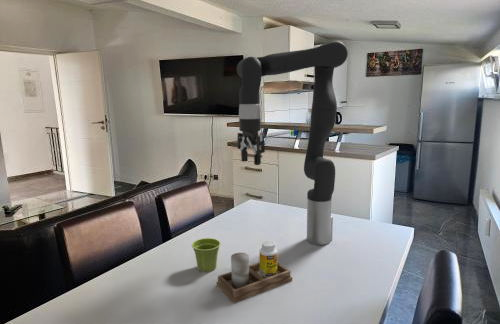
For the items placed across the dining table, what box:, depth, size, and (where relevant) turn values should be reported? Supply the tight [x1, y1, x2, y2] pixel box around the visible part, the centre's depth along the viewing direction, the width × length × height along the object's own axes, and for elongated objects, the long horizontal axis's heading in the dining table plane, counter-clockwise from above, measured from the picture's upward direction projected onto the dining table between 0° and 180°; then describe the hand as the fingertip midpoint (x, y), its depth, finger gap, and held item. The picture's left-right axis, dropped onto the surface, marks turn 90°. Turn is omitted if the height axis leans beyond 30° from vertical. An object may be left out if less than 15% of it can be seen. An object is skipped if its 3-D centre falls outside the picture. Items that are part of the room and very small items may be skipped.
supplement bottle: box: [259, 240, 278, 278], centre depth 104 cm, size 6×6×10 cm
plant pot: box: [191, 237, 221, 273], centre depth 112 cm, size 9×9×9 cm
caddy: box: [215, 252, 293, 304], centre depth 102 cm, size 21×11×10 cm, turn 122°
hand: (250, 163), depth 120 cm, fingers open, 8 cm apart
